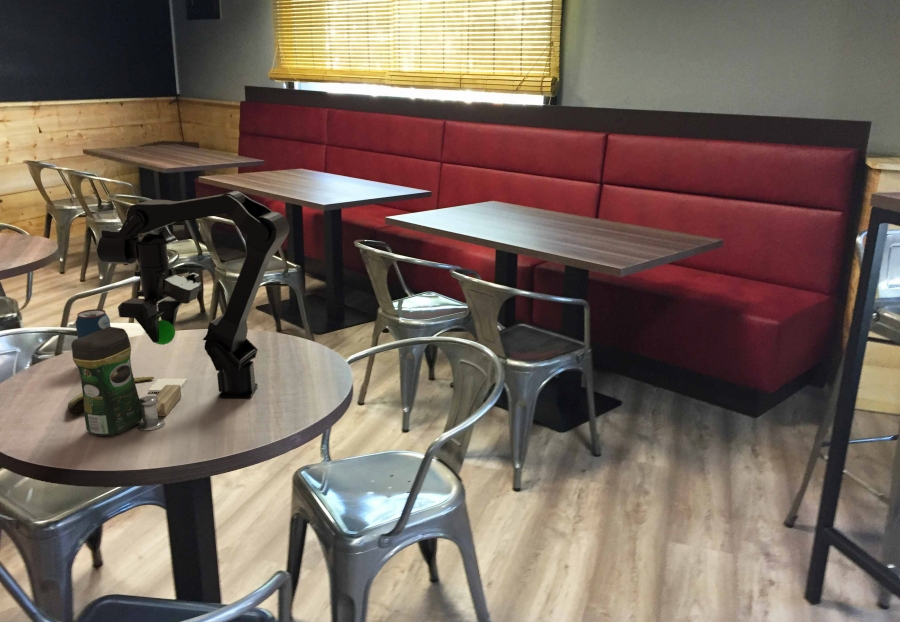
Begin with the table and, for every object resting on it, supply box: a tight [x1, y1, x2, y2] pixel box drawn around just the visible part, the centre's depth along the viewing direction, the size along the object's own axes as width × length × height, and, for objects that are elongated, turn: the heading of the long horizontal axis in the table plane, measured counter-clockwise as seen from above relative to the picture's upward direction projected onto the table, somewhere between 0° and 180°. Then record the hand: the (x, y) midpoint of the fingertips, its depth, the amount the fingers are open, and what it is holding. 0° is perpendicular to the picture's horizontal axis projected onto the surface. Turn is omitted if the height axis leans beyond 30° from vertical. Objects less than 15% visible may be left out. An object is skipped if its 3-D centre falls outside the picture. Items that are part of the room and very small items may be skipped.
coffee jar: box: [71, 326, 143, 437], centre depth 135 cm, size 10×8×19 cm
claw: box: [67, 376, 155, 416], centre depth 150 cm, size 20×10×3 cm, turn 173°
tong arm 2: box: [156, 385, 182, 417], centre depth 145 cm, size 2×11×3 cm, turn 1°
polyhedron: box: [156, 319, 176, 346], centre depth 152 cm, size 5×5×5 cm
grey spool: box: [136, 395, 166, 432], centre depth 138 cm, size 5×5×5 cm
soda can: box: [75, 308, 112, 339], centre depth 167 cm, size 7×7×12 cm
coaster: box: [147, 378, 188, 394], centre depth 155 cm, size 6×6×1 cm
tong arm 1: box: [155, 385, 173, 414], centre depth 145 cm, size 1×11×3 cm, turn 0°
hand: (163, 338), depth 152 cm, fingers closed on polyhedron, 5 cm apart
